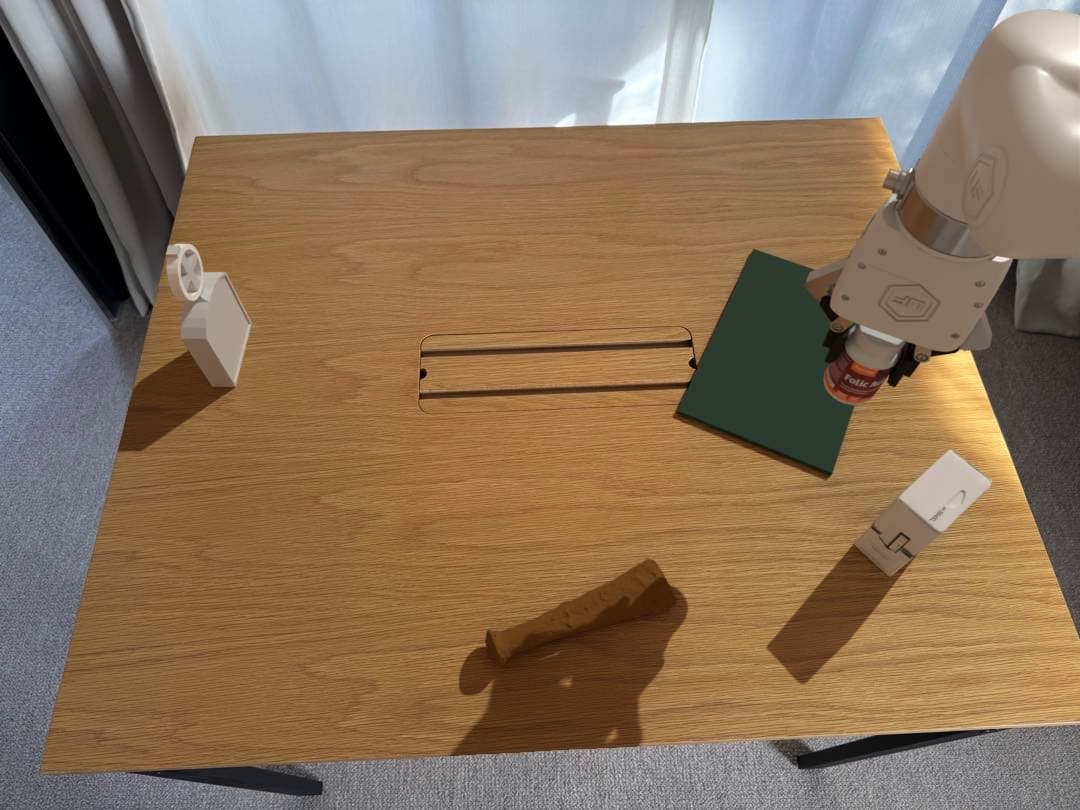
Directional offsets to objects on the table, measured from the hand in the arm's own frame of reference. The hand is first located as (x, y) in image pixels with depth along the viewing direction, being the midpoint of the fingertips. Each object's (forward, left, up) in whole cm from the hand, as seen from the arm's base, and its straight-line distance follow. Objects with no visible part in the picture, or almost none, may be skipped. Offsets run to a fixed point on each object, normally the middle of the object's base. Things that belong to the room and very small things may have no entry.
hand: (863, 361), depth 67 cm
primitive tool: (+14, +25, -21) cm, 36 cm away
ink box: (-12, +3, -21) cm, 24 cm away
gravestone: (+65, +15, -21) cm, 70 cm away
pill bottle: (0, 0, -4) cm, 4 cm away
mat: (+5, -15, -21) cm, 26 cm away
